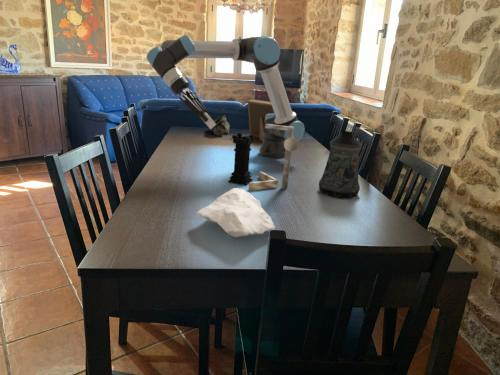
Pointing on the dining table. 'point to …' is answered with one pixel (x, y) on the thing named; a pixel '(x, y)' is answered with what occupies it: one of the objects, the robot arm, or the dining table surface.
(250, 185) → the centring cradle
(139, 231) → the dining table surface
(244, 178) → the chess piece
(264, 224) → the white rock
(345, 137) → the beer stein
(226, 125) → the hollow geode rock
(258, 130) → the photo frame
